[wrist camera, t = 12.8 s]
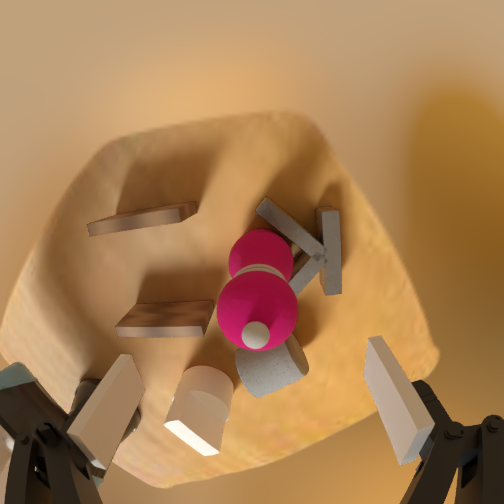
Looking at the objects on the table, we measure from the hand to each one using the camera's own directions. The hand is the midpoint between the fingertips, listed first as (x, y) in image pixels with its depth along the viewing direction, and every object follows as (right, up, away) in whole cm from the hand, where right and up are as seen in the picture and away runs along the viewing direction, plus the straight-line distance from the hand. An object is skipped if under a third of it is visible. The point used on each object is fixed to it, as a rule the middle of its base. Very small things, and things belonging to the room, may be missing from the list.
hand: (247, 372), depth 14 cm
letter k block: (+5, +7, +21) cm, 23 cm away
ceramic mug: (+2, -7, +26) cm, 27 cm away
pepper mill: (+1, +6, +22) cm, 23 cm away
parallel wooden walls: (-12, +5, +23) cm, 26 cm away
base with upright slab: (-7, -16, +29) cm, 33 cm away
